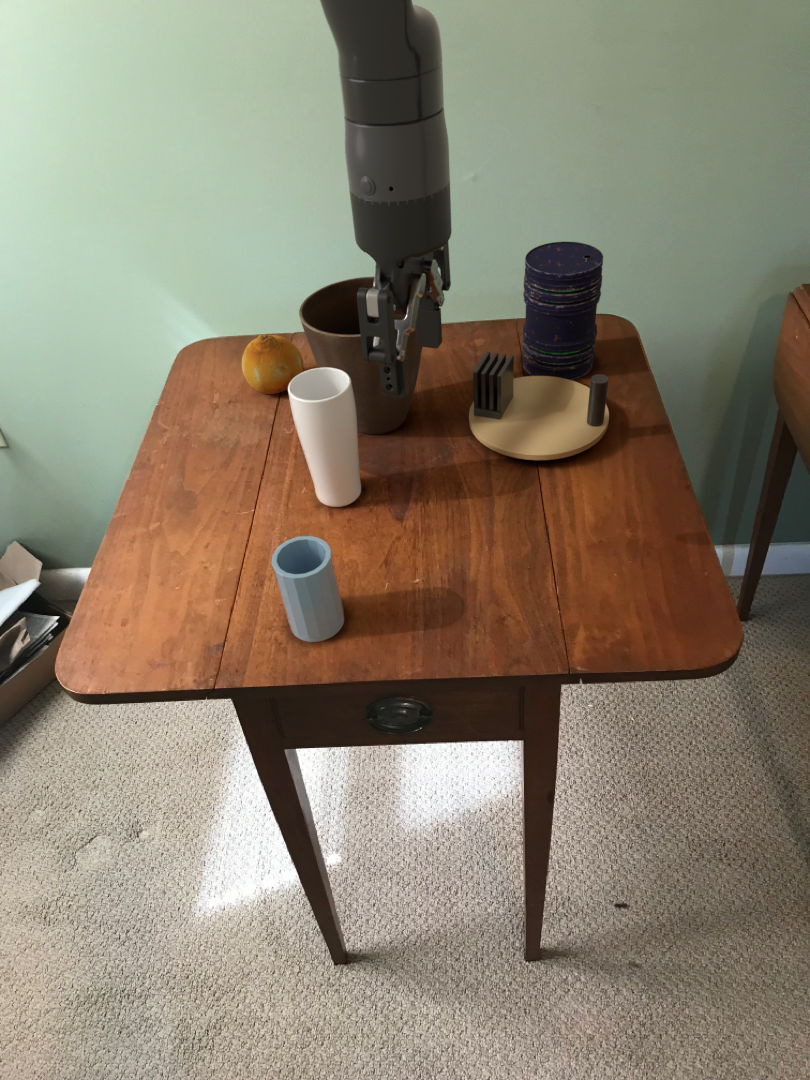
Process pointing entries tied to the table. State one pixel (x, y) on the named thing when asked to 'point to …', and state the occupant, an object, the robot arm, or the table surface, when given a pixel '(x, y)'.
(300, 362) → the fruit
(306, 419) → the drinking glass
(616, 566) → the table surface
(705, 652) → the table surface
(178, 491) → the table surface
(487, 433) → the round wooden platform
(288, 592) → the cup
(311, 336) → the flower pot
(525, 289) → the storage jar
